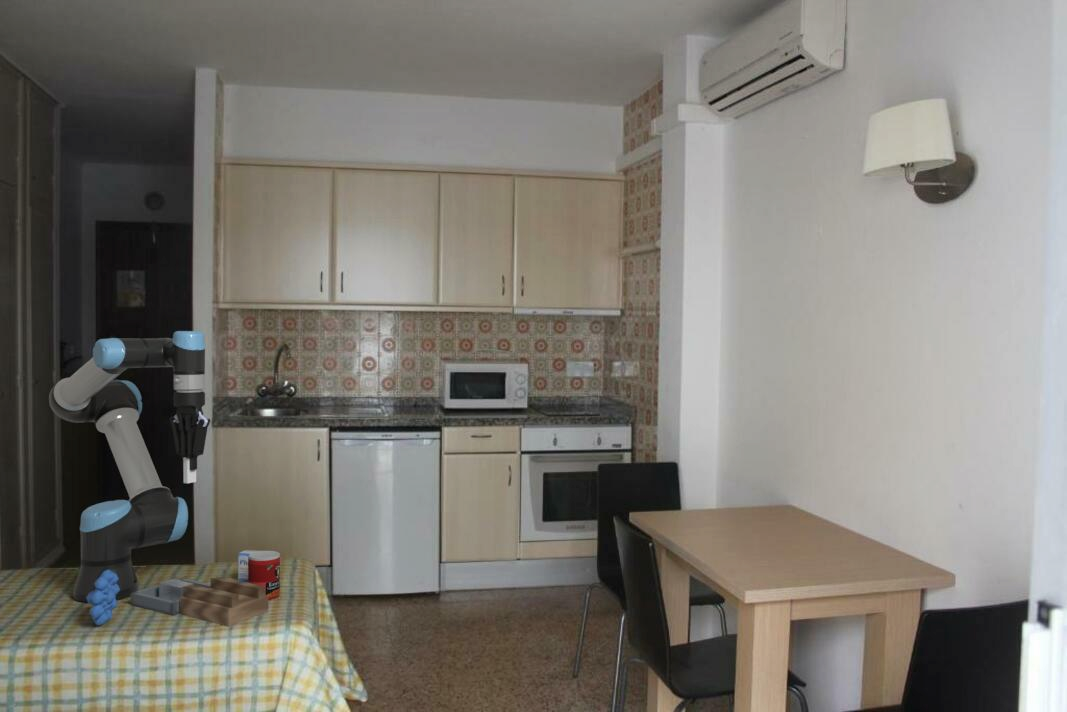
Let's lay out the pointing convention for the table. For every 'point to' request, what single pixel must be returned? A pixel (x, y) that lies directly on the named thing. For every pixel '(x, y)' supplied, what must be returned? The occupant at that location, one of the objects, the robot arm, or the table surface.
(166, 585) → the grey stone cube
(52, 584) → the table surface
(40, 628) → the table surface
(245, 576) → the medicine box
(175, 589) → the grey cube
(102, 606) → the grapes
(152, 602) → the tray
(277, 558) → the canned food
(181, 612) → the slot block
